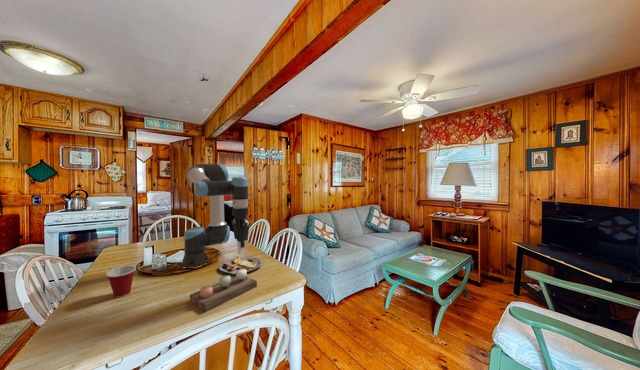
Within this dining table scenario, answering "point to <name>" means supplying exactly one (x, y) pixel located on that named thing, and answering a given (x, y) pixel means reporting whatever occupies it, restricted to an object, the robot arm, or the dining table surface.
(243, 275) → the cream button
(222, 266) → the food plate
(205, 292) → the terracotta button
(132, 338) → the dining table surface
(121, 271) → the plastic cup
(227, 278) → the sage button
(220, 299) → the button board
